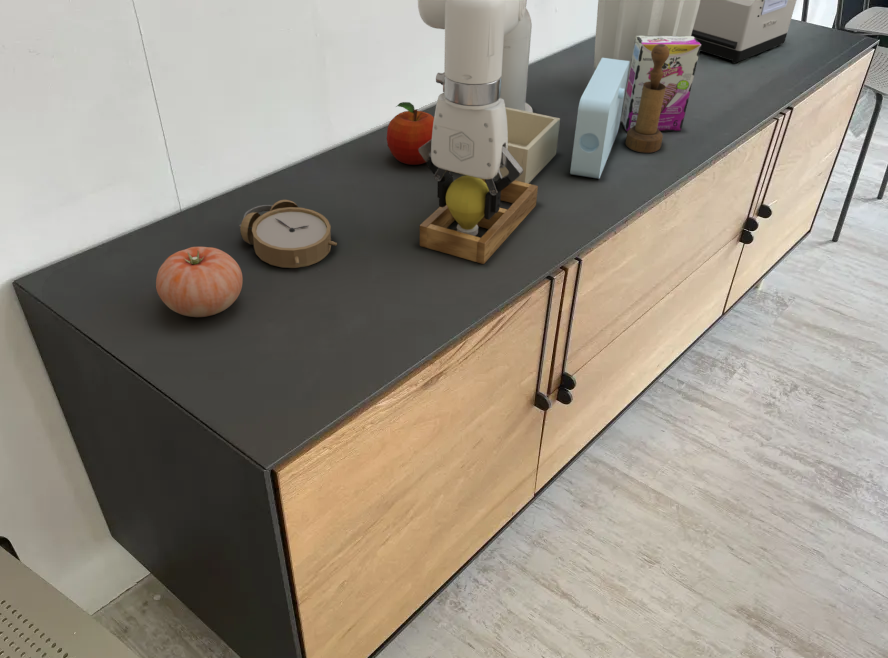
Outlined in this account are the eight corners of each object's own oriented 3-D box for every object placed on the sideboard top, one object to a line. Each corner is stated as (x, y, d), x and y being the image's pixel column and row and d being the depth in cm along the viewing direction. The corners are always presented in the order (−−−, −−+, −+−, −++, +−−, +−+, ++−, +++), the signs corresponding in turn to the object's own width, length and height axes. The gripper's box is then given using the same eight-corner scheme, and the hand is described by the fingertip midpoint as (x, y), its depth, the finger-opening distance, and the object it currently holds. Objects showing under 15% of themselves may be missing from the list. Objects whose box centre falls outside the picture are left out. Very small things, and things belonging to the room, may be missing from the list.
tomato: (148, 324, 100) (133, 272, 95) (185, 279, 108) (172, 228, 103) (227, 335, 99) (216, 282, 94) (259, 288, 107) (250, 237, 102)
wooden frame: (419, 246, 116) (419, 225, 114) (477, 190, 130) (478, 171, 128) (483, 264, 113) (484, 243, 110) (536, 205, 126) (538, 185, 124)
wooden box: (447, 169, 136) (448, 131, 131) (483, 138, 146) (484, 102, 141) (524, 188, 131) (528, 149, 126) (556, 154, 141) (560, 118, 136)
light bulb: (451, 252, 115) (452, 191, 108) (440, 230, 120) (440, 169, 113) (494, 247, 116) (498, 185, 110) (481, 225, 121) (484, 165, 115)
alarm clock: (286, 261, 107) (220, 206, 113) (286, 288, 111) (222, 234, 116) (348, 231, 113) (282, 181, 119) (346, 257, 117) (282, 207, 123)
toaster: (735, 66, 178) (756, -16, 166) (646, 39, 191) (660, -39, 180) (788, 45, 190) (810, -33, 178) (700, 20, 204) (716, -54, 192)
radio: (603, 182, 133) (615, 106, 124) (569, 177, 134) (579, 101, 125) (623, 129, 150) (635, 59, 141) (593, 125, 151) (603, 55, 142)
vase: (698, 106, 159) (732, -42, 141) (616, 119, 154) (640, -35, 136) (646, 74, 173) (672, -65, 155) (569, 84, 167) (586, -59, 149)
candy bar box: (625, 132, 149) (641, 43, 138) (619, 122, 153) (634, 34, 142) (683, 132, 150) (702, 43, 139) (675, 121, 153) (694, 34, 143)
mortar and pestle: (660, 154, 142) (681, 53, 130) (624, 151, 143) (642, 49, 131) (660, 139, 147) (680, 40, 135) (625, 136, 148) (642, 37, 136)
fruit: (426, 176, 133) (426, 119, 127) (377, 165, 136) (375, 109, 130) (450, 154, 140) (451, 99, 134) (403, 144, 143) (401, 90, 136)
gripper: (401, 85, 104) (404, 206, 115) (521, 110, 98) (511, 235, 109) (428, 68, 109) (428, 185, 120) (543, 91, 103) (532, 212, 115)
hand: (468, 208), depth 115 cm, fingers closed on light bulb, 6 cm apart
